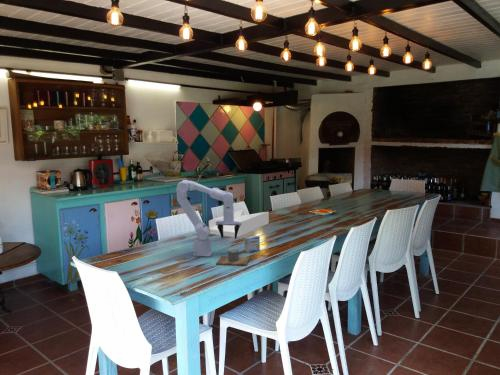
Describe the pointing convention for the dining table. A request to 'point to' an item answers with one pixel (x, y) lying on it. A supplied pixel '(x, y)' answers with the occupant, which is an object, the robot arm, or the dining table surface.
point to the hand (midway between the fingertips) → (229, 237)
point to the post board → (241, 262)
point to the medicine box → (252, 244)
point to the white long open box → (248, 223)
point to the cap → (233, 255)
